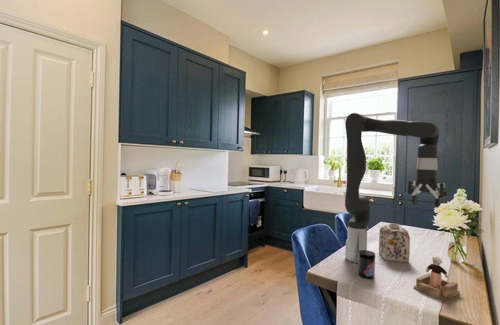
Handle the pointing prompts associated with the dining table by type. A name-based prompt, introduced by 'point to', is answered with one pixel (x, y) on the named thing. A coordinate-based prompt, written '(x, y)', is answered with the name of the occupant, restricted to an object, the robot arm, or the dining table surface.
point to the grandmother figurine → (436, 273)
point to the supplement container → (366, 264)
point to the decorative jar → (394, 243)
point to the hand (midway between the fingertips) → (425, 205)
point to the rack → (444, 294)
